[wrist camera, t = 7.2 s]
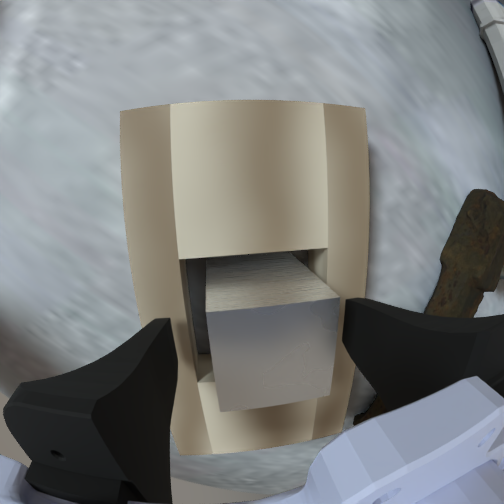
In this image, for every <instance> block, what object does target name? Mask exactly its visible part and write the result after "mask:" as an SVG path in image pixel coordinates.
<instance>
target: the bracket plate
mask: <svg viewBox="0 0 504 504" xmlns="http://www.w3.org/2000/svg"><path fill="white" fill-rule="evenodd" d="M120 156H121V179H122V195H123V207H124V218H125V228H126V236H127V245H128V252H129V259H130V266H131V273H132V279H133V285H134V290H135V296H136V301H137V307H138V312H139V316H140V321H141V326H142V328H143V327H145V326H146V325H147V324H148V323H150V322H151V321H152V320H154V319H155V318H170V319H171V325H172V331H173V336H174V341H175V347H176V352H177V357H178V382H177V388H176V394H175V400H174V406H173V412H172V418H171V425H170V429H171V432H172V435H173V437H174V440H175V443H176V446H177V448H178V451H179V453H180V455H206V454H222V453H233V452H243V451H251V450H259V449H266V448H272V447H278V446H284V445H289V444H294V443H299V442H304V441H309V440H313V439H317V438H321V437H325V436H329V435H333V434H337V433H341V432H342V428H343V424H344V420H345V415H346V411H347V407H348V402H349V397H350V392H351V387H352V382H353V377H354V371H355V366H356V364H355V363H354V362H353V360H352V359H351V358H350V356H349V354H348V352H347V350H346V348H345V346H344V344H343V342H342V333H343V323H344V312H345V300H346V299H351V298H357V297H359V298H365V289H366V277H367V263H368V245H369V208H370V192H369V156H368V138H367V124H366V113H365V108H359V107H352V106H344V105H335V104H325V103H314V102H301V101H281V100H222V101H202V102H189V103H177V104H168V105H159V106H151V107H144V108H137V109H131V110H125V111H120ZM306 249H308V269H309V270H310V271H311V272H313V273H314V274H315V275H316V276H317V277H318V278H319V279H321V280H322V281H323V282H324V283H325V284H326V285H327V286H328V287H330V288H331V289H332V290H333V291H334V292H335V293H336V294H337V295H339V296H340V308H339V320H338V331H337V341H336V351H335V359H334V367H333V375H332V383H331V390H330V395H328V396H323V397H319V398H314V399H309V400H304V401H299V402H294V403H288V404H282V405H276V406H270V407H263V408H255V409H247V410H238V411H228V412H220V409H219V403H218V397H217V390H216V384H215V377H214V371H213V364H212V357H211V354H200V355H198V351H197V345H196V339H195V332H194V325H193V318H192V310H191V303H190V295H189V287H188V278H187V269H186V260H185V259H190V258H203V257H216V256H229V255H242V254H255V253H268V252H280V251H293V250H306Z"/></svg>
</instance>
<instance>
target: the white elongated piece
mask: <svg viewBox="0 0 504 504" xmlns="http://www.w3.org/2000/svg"><path fill="white" fill-rule="evenodd" d="M470 3H471V10H472V12H473V14H474V17H475V19H476V21H477V24H478V26H479V28H480V37H481V38H482V39H483V40H484V41H485V42H486V44H487V47H488V49H489V52H490V54H491V57H492V60H493V62H494V65H495V68H496V71H497V74H498V77H499V80H500V83H501V86H502V90H503V93H504V6H503V5H502V4H501V3H500V2H499V1H498V0H471V1H470ZM500 279H504V266H503V268H502V271H501V275H500Z"/></svg>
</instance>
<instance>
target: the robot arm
mask: <svg viewBox="0 0 504 504" xmlns="http://www.w3.org/2000/svg"><path fill="white" fill-rule="evenodd" d="M342 342H343V344H344V346H345V348H346V350H347V352H348V354H349V356H350V358H351V359H352V360H353V362H354V363H355V364H356V366H357V367H358V368H359V370H360V371H361V372H362V374H363V375H364V376H365V378H366V379H367V380H368V381H369V383H370V384H371V385H372V387H373V388H374V389H375V391H376V392H377V394H378V395H379V397H380V398H381V400H382V402H383V403H384V405H385V407H386V409H387V411H388V412H387V413H384V414H381V415H379V416H376V417H373V418H370V419H368V420H366V421H364V422H362V423H360V424H358V425H355V426H353V427H351V428H349V429H347V430H344V431H343V432H342V433H341V434H339V435H338V436H337V437H336V438H334V439H333V440H332V441H330V442H329V443H328V444H326V445H325V446H324V447H323V448H322V449H321V450H320V452H319V453H318V455H317V457H316V458H315V460H314V461H313V463H312V464H311V466H310V467H309V471H308V476H307V481H306V484H305V485H303V486H300V487H297V488H295V489H292V490H289V491H286V492H283V493H280V494H276V495H273V496H270V497H266V498H263V499H259V500H253V501H246V502H235V503H223V504H504V314H502V315H496V316H489V317H477V318H455V317H441V316H434V315H428V314H422V313H418V312H413V311H409V310H405V309H402V308H398V307H394V306H391V305H388V304H384V303H381V302H377V301H374V300H370V299H366V298H359V297H357V298H351V299H346V300H345V312H344V323H343V333H342ZM177 382H178V357H177V352H176V347H175V341H174V336H173V331H172V325H171V319H170V318H155V319H154V320H152V321H151V322H150V323H148V324H147V325H146V326H145V327H143V328H142V329H141V330H140V331H139V332H137V333H136V334H135V335H134V336H133V337H131V338H130V339H129V340H127V341H126V342H125V343H123V344H122V345H121V346H119V347H118V348H116V349H115V350H113V351H112V352H110V353H109V354H107V355H105V356H104V357H102V358H100V359H98V360H96V361H94V362H92V363H90V364H88V365H86V366H83V367H81V368H79V369H76V370H74V371H71V372H68V373H65V374H62V375H58V376H55V377H51V378H47V379H42V380H36V381H31V382H24V383H21V384H20V385H19V386H18V388H17V389H16V391H15V392H14V393H13V395H12V396H11V398H10V399H9V401H8V402H7V404H6V405H5V407H4V409H3V415H4V419H5V422H6V424H7V427H8V428H9V430H10V432H11V434H12V435H13V436H14V438H15V439H16V441H17V442H18V443H19V444H20V446H21V447H22V449H23V450H24V451H25V453H26V454H27V455H28V456H29V458H30V459H31V460H32V462H31V465H30V467H29V468H28V467H26V466H25V465H24V464H22V463H20V462H18V461H16V460H13V459H11V458H8V457H5V456H3V455H1V454H0V504H172V495H171V479H170V425H171V418H172V412H173V406H174V400H175V394H176V388H177Z"/></svg>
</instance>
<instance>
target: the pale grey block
mask: <svg viewBox="0 0 504 504" xmlns="http://www.w3.org/2000/svg"><path fill="white" fill-rule="evenodd" d="M339 308H340V296H339V295H337V294H336V293H335V292H334V291H333V290H332V289H331V288H330V287H328V286H327V285H326V284H325V283H324V282H323V281H322V280H321V279H319V278H318V277H317V276H316V275H315V274H314V273H313V272H311V271H310V270H309V269H308V268H307V267H306V266H305V265H303V264H302V263H301V262H300V261H299V260H298V259H297V258H295V257H294V256H293V255H292V254H291V253H290V252H278V253H266V254H253V255H241V256H228V257H216V258H207V263H206V318H207V326H208V334H209V342H210V349H211V357H212V364H213V371H214V377H215V384H216V390H217V397H218V403H219V409H220V412H228V411H238V410H247V409H255V408H263V407H270V406H276V405H282V404H288V403H294V402H299V401H304V400H309V399H314V398H319V397H323V396H328V395H330V390H331V383H332V375H333V367H334V359H335V351H336V341H337V331H338V320H339Z"/></svg>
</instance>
